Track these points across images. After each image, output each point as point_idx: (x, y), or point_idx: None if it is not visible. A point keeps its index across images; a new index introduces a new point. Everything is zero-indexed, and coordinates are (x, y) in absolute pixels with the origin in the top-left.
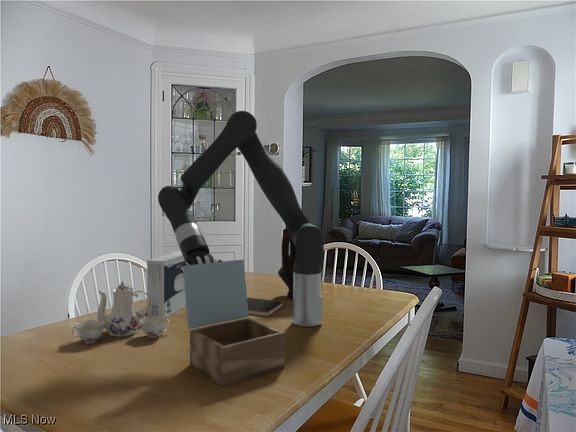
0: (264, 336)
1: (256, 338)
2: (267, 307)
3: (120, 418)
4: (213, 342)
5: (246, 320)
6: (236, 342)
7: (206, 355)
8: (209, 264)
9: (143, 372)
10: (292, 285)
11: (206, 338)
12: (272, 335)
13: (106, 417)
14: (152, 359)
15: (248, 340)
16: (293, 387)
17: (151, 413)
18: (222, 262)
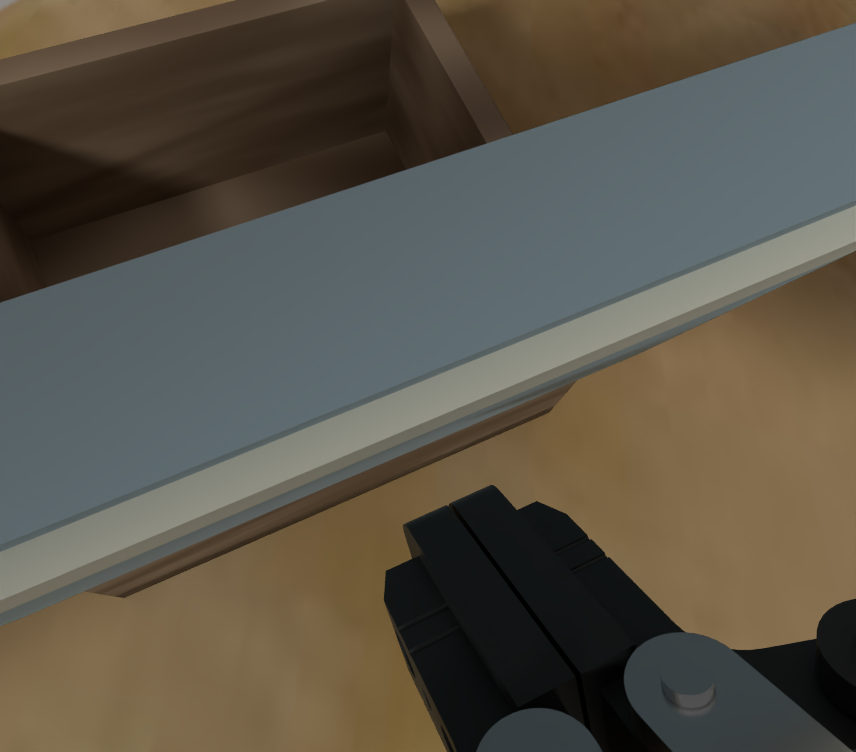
0: (76, 59)
1: (149, 41)
2: None
3: (771, 9)
4: (456, 49)
5: None
6: None
7: None
8: (777, 68)
9: (787, 373)
10: None
11: (499, 126)
12: (7, 61)
13: (819, 27)
14: (780, 559)
15: (217, 23)
16: (73, 38)
17: (673, 10)
18: (154, 275)
